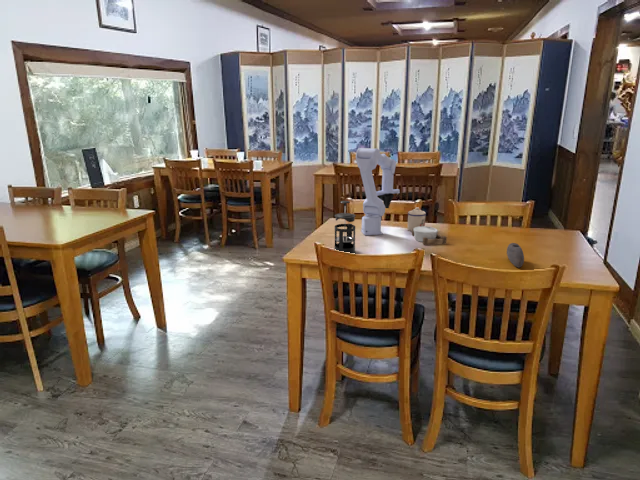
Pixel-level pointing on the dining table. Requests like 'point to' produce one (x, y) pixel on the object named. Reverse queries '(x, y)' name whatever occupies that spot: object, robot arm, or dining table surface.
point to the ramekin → (425, 233)
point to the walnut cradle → (433, 240)
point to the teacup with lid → (416, 218)
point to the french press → (345, 241)
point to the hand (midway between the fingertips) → (386, 207)
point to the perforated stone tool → (515, 254)
